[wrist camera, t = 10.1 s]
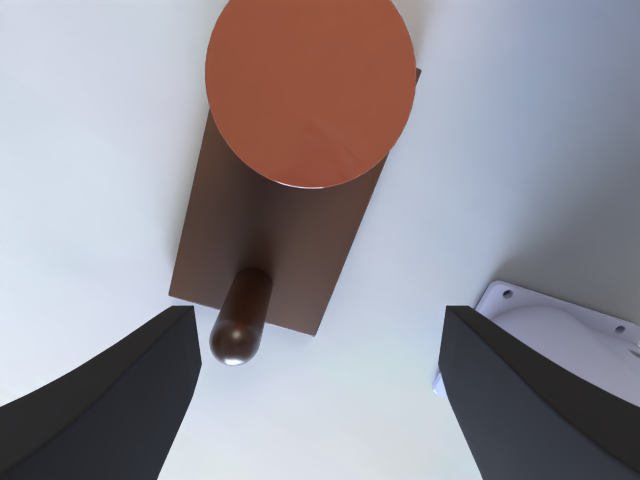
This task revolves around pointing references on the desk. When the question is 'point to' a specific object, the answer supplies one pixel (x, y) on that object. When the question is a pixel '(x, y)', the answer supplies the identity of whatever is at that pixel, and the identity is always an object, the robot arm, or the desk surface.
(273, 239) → the rack
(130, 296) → the desk surface
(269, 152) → the cup
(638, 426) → the robot arm
